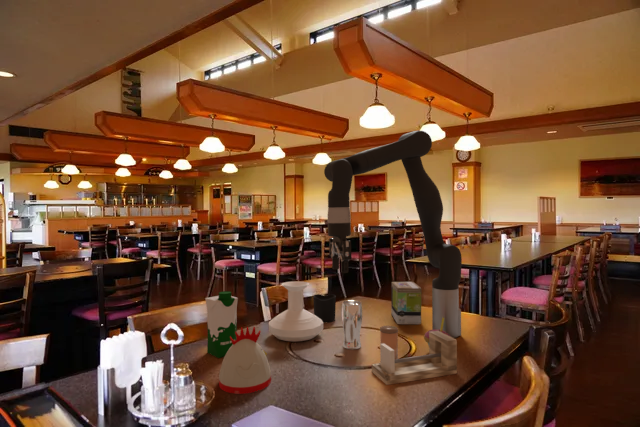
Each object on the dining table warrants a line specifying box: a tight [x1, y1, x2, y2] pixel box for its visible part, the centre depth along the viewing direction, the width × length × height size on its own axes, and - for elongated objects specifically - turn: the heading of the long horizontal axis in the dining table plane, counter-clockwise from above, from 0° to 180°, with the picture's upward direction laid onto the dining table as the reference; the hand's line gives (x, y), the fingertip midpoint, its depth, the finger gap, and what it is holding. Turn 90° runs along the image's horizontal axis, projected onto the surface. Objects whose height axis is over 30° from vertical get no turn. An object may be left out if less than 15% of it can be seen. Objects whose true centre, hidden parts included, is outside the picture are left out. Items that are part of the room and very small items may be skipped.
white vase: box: [268, 280, 324, 342], centre depth 149 cm, size 20×20×19 cm
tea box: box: [390, 281, 422, 325], centre depth 170 cm, size 15×10×15 cm, turn 179°
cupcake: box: [423, 316, 451, 346], centre depth 131 cm, size 9×8×12 cm
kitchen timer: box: [218, 326, 272, 395], centre depth 110 cm, size 14×14×15 cm
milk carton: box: [204, 290, 239, 359], centre depth 132 cm, size 9×9×20 cm
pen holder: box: [312, 294, 337, 324], centre depth 170 cm, size 9×9×10 cm
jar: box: [379, 325, 399, 359], centre depth 125 cm, size 5×5×10 cm
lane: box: [371, 331, 458, 386], centre depth 115 cm, size 22×9×10 cm, turn 108°
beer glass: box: [341, 299, 363, 350], centre depth 137 cm, size 7×7×15 cm
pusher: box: [379, 343, 441, 374], centre depth 115 cm, size 19×6×7 cm, turn 108°
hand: (340, 271), depth 133 cm, fingers open, 8 cm apart
